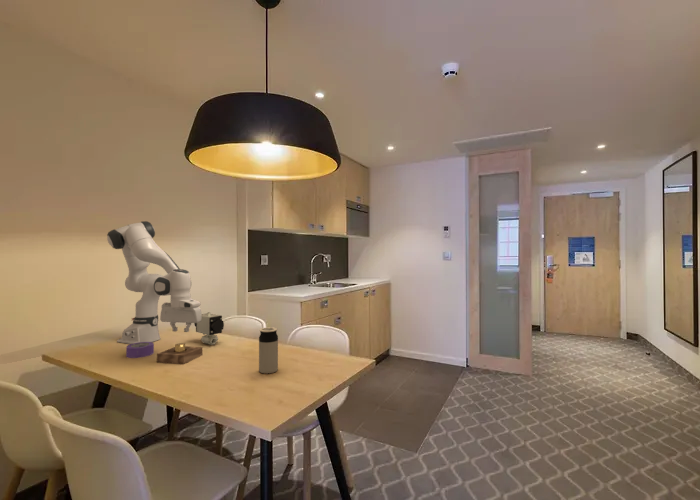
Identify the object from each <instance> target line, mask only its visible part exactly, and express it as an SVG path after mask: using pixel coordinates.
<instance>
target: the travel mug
mask: <svg viewBox="0 0 700 500" xmlns="http://www.w3.org/2000/svg"><path fill="white" fill-rule="evenodd" d="M277 331H278V328H277V327H272V326H271V327H269V326H268V327H262V328H260V329H259V332H260V335H259V337H258V372H259V373H262V374H265V373H266V374H267V375H268V373H269V374H272V373H273V374H274V373H276V372H278V370H279V335H278V333H277Z"/></svg>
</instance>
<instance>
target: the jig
mask: <svg viewBox="0 0 700 500" xmlns="http://www.w3.org/2000/svg"><path fill="white" fill-rule="evenodd" d="M202 356H203V347H202V346H192V345H190V346H187V345H185V351H183V352H175V346H173V347H171V348H168V349H166V350H164V351H161V352H159V353H156V363H159V364H160V363H162V364H176V365H185V364H187V363H189V362H191V361H194V360H195V359H197V358H199V357H202Z"/></svg>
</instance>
